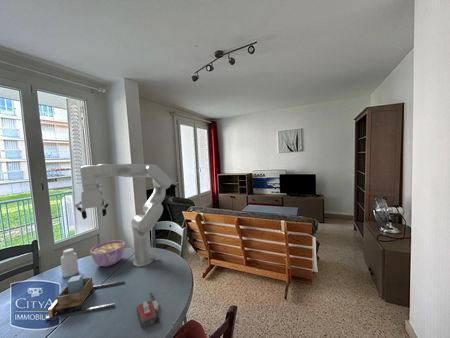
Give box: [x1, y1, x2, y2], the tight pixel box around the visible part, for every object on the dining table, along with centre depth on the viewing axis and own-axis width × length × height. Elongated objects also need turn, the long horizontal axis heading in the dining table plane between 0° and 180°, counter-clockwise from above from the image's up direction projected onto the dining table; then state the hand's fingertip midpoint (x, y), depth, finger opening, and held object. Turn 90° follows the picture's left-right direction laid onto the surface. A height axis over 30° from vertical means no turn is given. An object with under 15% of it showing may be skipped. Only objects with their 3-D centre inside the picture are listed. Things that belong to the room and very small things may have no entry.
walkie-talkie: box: [136, 292, 160, 329], centre depth 90 cm, size 9×4×20 cm
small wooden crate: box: [56, 276, 95, 314], centre depth 98 cm, size 10×15×8 cm, turn 14°
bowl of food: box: [89, 239, 125, 268], centre depth 134 cm, size 20×20×12 cm
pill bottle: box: [60, 248, 79, 278], centre depth 123 cm, size 8×8×15 cm
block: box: [66, 274, 83, 294], centre depth 98 cm, size 4×4×8 cm
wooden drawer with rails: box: [45, 280, 125, 321], centre depth 99 cm, size 27×19×5 cm
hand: (94, 217), depth 114 cm, fingers open, 9 cm apart
